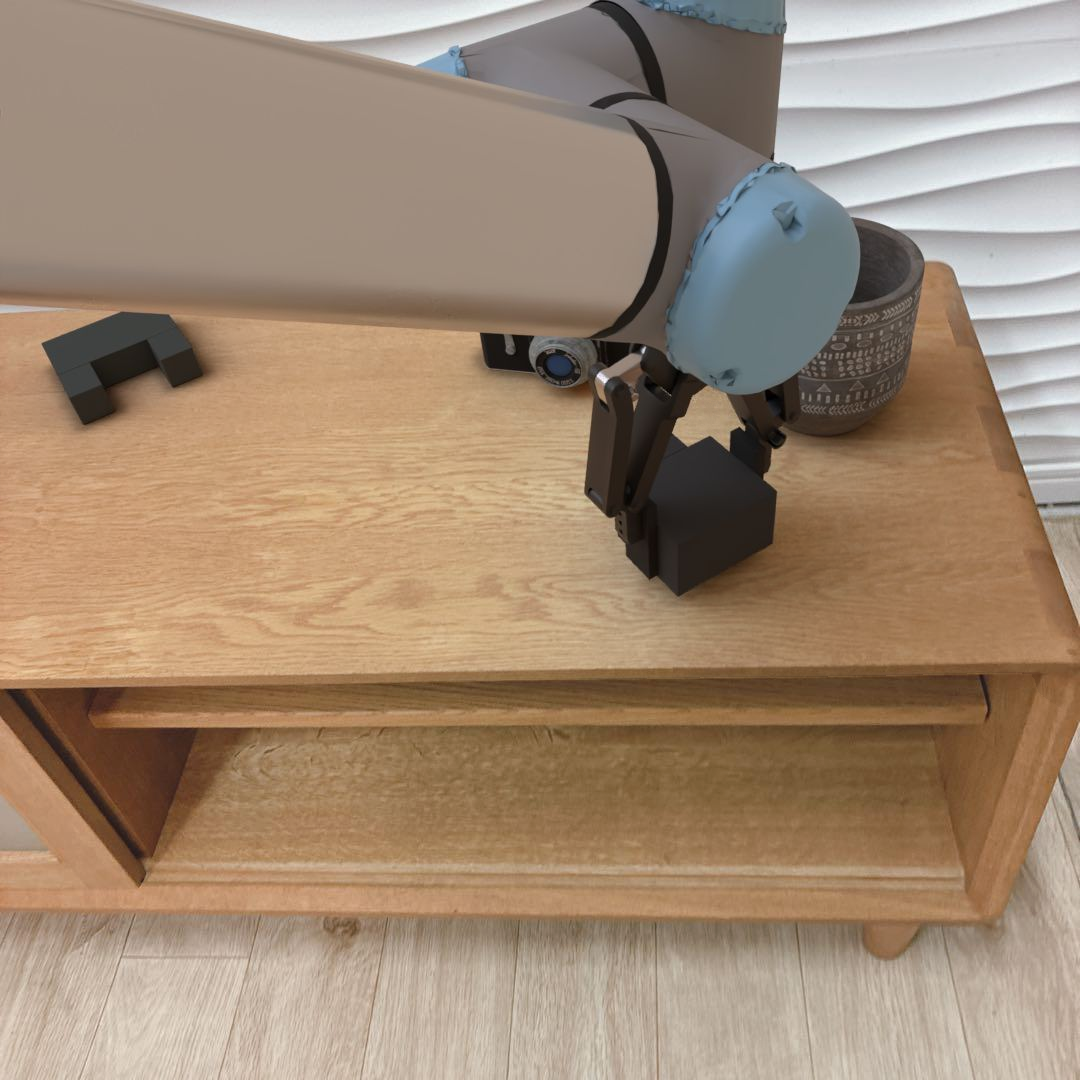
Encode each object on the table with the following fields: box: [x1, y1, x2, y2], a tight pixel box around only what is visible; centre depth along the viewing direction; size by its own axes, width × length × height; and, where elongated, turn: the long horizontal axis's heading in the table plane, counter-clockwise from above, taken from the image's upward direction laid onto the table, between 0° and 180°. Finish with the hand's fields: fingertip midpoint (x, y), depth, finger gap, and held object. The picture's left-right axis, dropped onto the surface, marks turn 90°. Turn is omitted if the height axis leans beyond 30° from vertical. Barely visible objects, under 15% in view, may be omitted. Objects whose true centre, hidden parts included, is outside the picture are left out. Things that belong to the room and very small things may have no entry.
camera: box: [479, 332, 639, 389], centre depth 87 cm, size 15×7×10 cm, turn 74°
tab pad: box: [616, 432, 778, 597], centre depth 73 cm, size 8×11×5 cm
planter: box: [782, 216, 926, 437], centre depth 80 cm, size 12×12×13 cm
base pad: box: [41, 311, 204, 425], centre depth 96 cm, size 11×10×3 cm
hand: (693, 536), depth 74 cm, fingers closed on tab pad, 8 cm apart
